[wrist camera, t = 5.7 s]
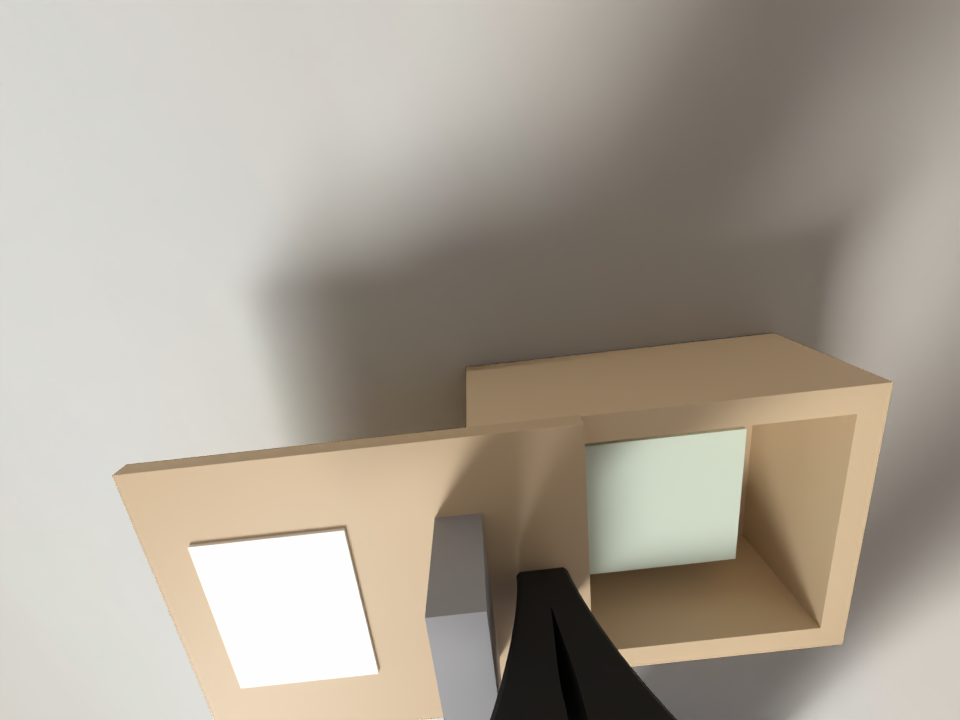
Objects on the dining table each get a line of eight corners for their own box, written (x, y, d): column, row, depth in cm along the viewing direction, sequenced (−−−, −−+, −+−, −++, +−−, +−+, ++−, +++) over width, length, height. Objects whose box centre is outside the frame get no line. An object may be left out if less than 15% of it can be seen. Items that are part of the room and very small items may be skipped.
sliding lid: (579, 415, 11) (625, 499, 8) (590, 684, 14) (627, 827, 11) (126, 464, 12) (-10, 568, 8) (230, 723, 15) (161, 876, 11)
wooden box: (774, 333, 16) (893, 382, 12) (752, 540, 19) (842, 644, 15) (465, 367, 16) (466, 428, 12) (490, 568, 19) (498, 680, 15)
